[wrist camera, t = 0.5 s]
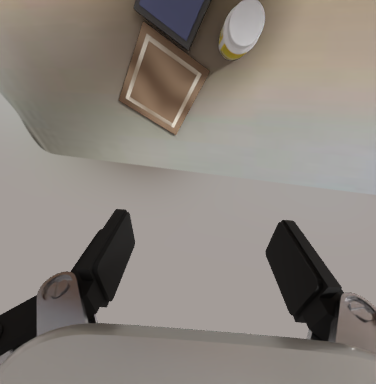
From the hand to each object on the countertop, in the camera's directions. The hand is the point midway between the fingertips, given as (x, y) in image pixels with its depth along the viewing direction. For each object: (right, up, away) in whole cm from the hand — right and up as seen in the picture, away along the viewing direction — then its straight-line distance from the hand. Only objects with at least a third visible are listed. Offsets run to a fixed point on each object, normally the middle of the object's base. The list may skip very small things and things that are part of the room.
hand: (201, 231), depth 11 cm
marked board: (-5, +21, +19) cm, 29 cm away
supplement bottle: (+6, +26, +15) cm, 31 cm away
